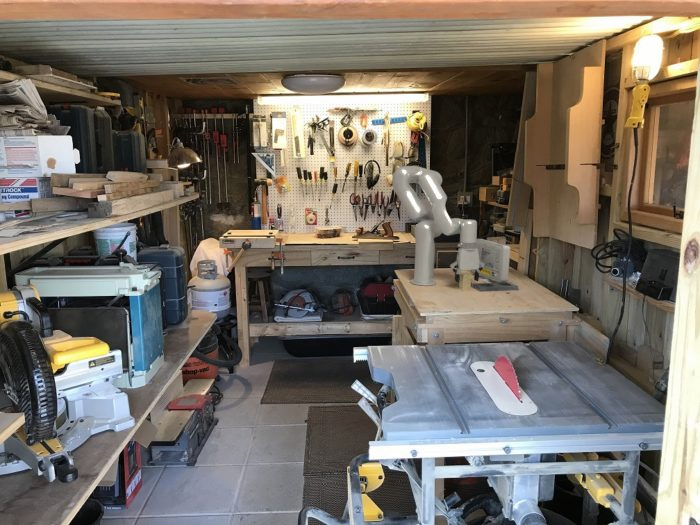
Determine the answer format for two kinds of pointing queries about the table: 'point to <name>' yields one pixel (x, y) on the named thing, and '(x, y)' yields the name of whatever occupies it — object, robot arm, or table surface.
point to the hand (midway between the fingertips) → (466, 281)
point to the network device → (493, 260)
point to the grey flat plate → (495, 286)
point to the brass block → (465, 281)
